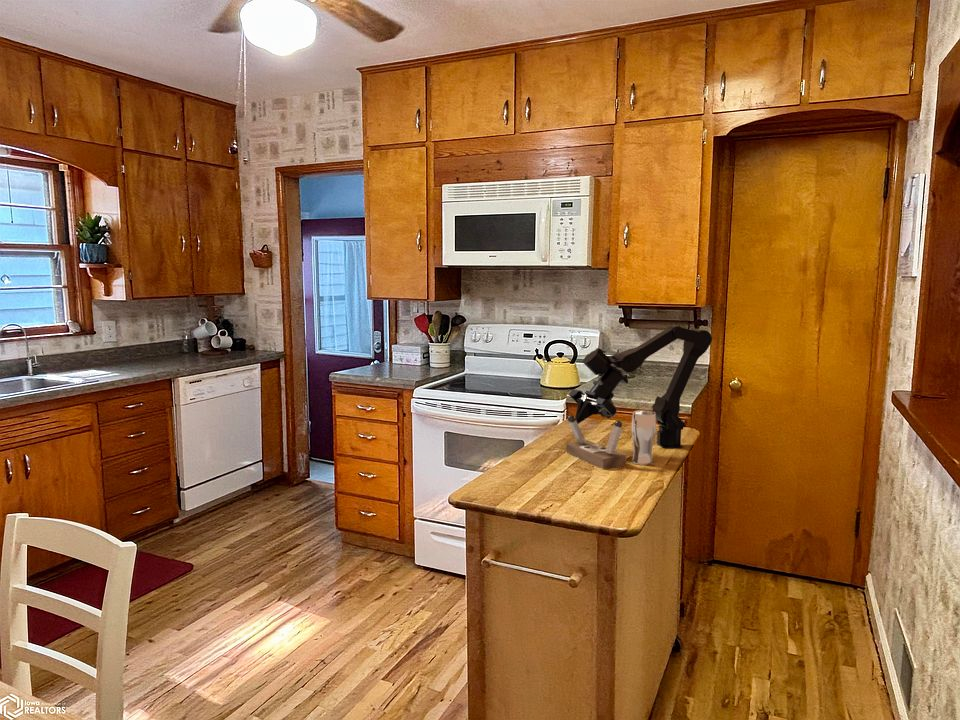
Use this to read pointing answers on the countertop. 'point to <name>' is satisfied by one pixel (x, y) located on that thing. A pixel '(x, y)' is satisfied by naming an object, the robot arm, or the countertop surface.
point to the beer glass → (643, 436)
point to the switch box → (596, 454)
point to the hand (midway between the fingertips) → (575, 423)
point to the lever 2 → (614, 437)
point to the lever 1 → (576, 429)
